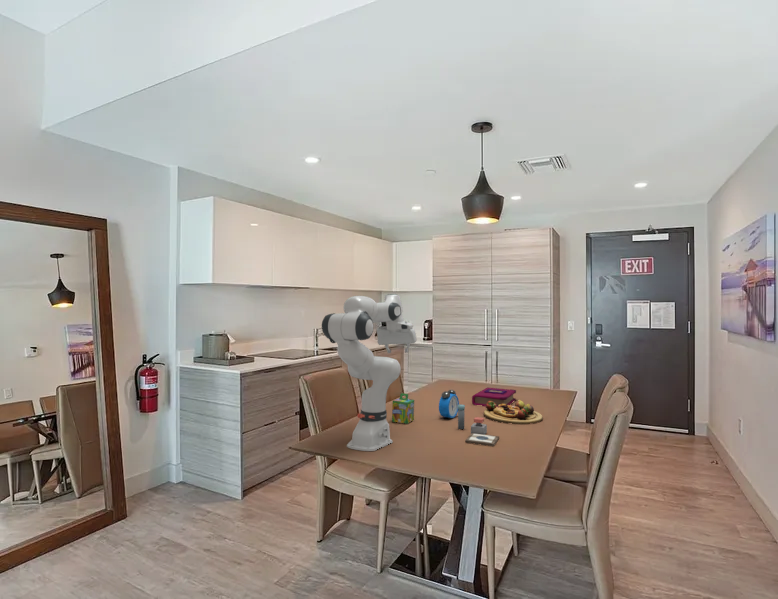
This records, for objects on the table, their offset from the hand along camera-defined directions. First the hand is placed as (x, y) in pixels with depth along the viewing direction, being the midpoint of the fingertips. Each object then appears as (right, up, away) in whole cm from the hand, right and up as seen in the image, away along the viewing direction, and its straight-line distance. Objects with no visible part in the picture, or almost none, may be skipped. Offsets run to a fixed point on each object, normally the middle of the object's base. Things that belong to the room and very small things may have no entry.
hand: (398, 352), depth 237 cm
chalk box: (+3, -39, +12) cm, 41 cm away
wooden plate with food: (+65, -39, +24) cm, 79 cm away
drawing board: (+39, -39, -21) cm, 58 cm away
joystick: (+32, -39, -1) cm, 50 cm away
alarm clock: (+29, -39, +21) cm, 52 cm away
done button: (+39, -35, -9) cm, 53 cm away
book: (+63, -39, +59) cm, 95 cm away
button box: (+39, -39, -9) cm, 56 cm away
